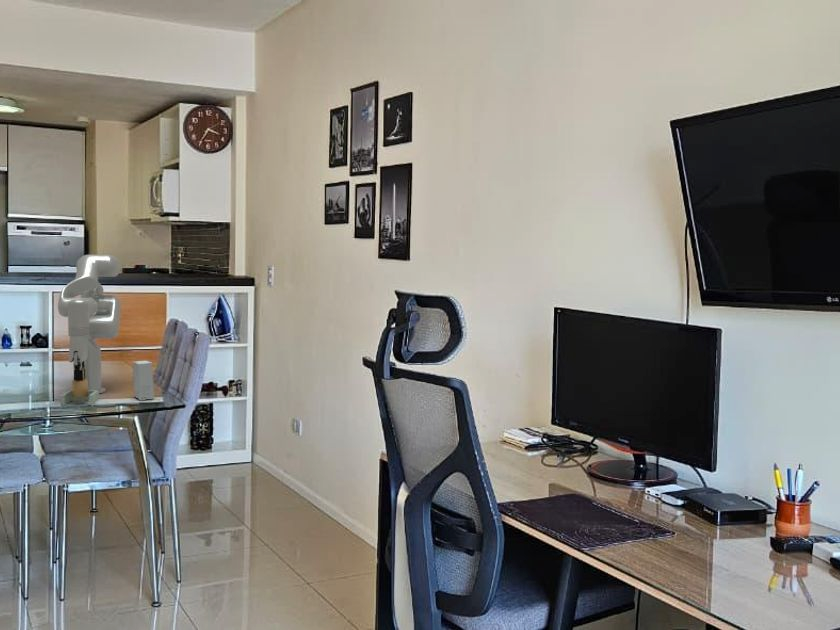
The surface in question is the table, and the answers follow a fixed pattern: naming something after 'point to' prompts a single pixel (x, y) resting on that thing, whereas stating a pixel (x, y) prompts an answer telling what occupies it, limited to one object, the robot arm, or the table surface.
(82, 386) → the bottle
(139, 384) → the skincare box
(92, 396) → the u rest
